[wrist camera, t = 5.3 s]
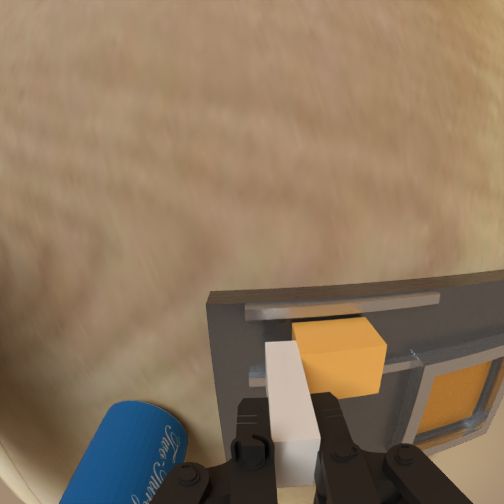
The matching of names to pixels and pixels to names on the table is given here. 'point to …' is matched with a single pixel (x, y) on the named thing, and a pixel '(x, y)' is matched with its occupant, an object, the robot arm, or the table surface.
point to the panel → (396, 360)
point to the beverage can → (128, 456)
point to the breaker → (341, 356)
